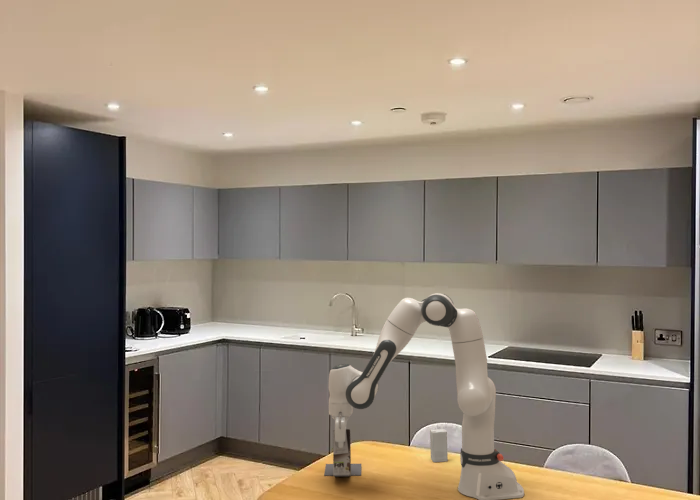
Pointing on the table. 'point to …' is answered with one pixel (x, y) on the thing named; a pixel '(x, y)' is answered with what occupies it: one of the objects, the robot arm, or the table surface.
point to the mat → (354, 470)
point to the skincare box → (438, 445)
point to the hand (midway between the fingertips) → (341, 446)
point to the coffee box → (342, 457)
